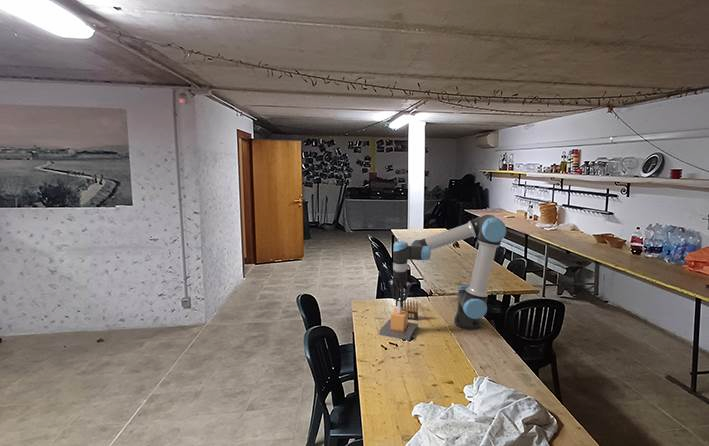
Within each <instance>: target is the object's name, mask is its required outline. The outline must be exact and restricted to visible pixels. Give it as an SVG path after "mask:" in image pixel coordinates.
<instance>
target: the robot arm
mask: <svg viewBox="0 0 709 446" xmlns="http://www.w3.org/2000/svg"><path fill="white" fill-rule="evenodd" d="M506 235H507V227H506V224H505V223H504V221H503V220H502V219H500V218H498V217H496V216H494V215H492V214H484V215H482V216H481V215H480V216H478V217H476V218H473V219H471V220H469V221H468V222H467V223H465V224H462V225H459V226H456V227H454V228H451V229H447V230H444V231H442V232H439V233H437V234H434V235H431V236H428V237H425V238H422V239H414V240H413V241H412V242H411V245H409V243H408V242H407V241H403V240H399V241H394V242H393V255H392V257H393V262H392V270H393V271H392V279H391V280H389V281H388V283H387V284H388V286H389V288H390V292H391V294H390V295H391V297H392V300H394V301H395V307H397V309H396V310H397V313H401V308H402V307H403V306H404V301H405V300H406V301H407V300H408V296H409V292H410V289H411V287H412V285H413V283H411V282H409V280H408V261H423V262H424V261H429V260H430V259H431V256H432V255H431V254H432V253H431V251H433V250H436V249H439V248H442V247H445V246H449V245H450V244H451V245H452V244H453V243H456V242H460V241H462V240H466V239H468V238H472V237H474V238H477V240H476V241H477V242H478V244H479V245H478V249H477V252H476V257H475V262H474V265H473V269H472V273H471V274H472V275H471V278H470V281H469V284H468V283H467V284H460V285H459V286H458V288H457V291H458V293H457V294H458V295H457V310H456V313H455V315H454V318H453V323H454V325H455V326H456V327H458V328H461V329H466V330H477V329H480V328H481V327H482V319H481V318H483V317H484V316H485V315H487V312H488V305H487V301H488V297H489V295H488V292H487V288H488V284H489V280H490V275H491V271H492V267H493V263H494V259H495V255H496V252H497V251H496V250H497V249H498V247H500V246H501V243H502V240H503V239H504V238H505V236H506ZM405 286H406V289H405Z"/></svg>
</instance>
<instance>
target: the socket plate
mask: <svg viewBox="0 0 709 446" xmlns="http://www.w3.org/2000/svg"><path fill="white" fill-rule="evenodd" d="M418 329H419V323H415V322H409V321H408V326H407V327H406V328H405V330H404V332H403V331H400V330H394V329H391V318H389V319H388V320H387V321H386V323H384V325H383V326H382V327H381V328H380V329H379V332H378V333H379V334H378V335H379V336H385V337H389V338H395V339H398V340H399V339H400V340H406V341H411V339H412V338H413V337H414V335H415V334H416V332H417V331H418Z"/></svg>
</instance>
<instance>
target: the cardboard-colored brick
mask: <svg viewBox="0 0 709 446" xmlns="http://www.w3.org/2000/svg"><path fill="white" fill-rule="evenodd" d="M390 319H391V329H394V330H400V331H403V332H404V330H405V328H406V327H407V326H408V322H409V319H408V312H406V311H401V313H397V309H395V310H394V311H393V312H392V313H391V315H390Z"/></svg>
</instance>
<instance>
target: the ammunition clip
mask: <svg viewBox="0 0 709 446" xmlns="http://www.w3.org/2000/svg"><path fill="white" fill-rule="evenodd" d="M401 311H406V312H408V321H410V320H411V321H418V320H419V307H418V300H416V301H415V300H414V299H413V300H412V299H410V300H409V299H406V300H405V301H403V307H402V308H401Z"/></svg>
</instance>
